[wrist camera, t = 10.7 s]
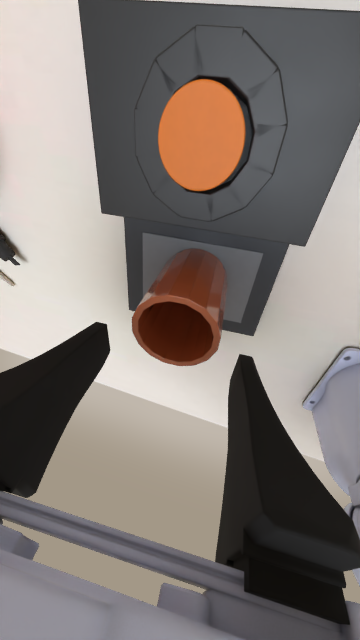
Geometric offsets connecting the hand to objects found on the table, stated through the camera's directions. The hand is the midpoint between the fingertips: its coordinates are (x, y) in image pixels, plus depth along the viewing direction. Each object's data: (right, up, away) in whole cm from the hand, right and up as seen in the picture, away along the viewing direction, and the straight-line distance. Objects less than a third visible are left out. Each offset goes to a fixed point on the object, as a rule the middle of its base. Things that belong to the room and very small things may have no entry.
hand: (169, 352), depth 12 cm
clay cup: (+2, +5, +6) cm, 8 cm away
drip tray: (+2, +6, +7) cm, 9 cm away
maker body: (+3, +13, +2) cm, 13 cm away
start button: (+2, +9, -3) cm, 10 cm away
